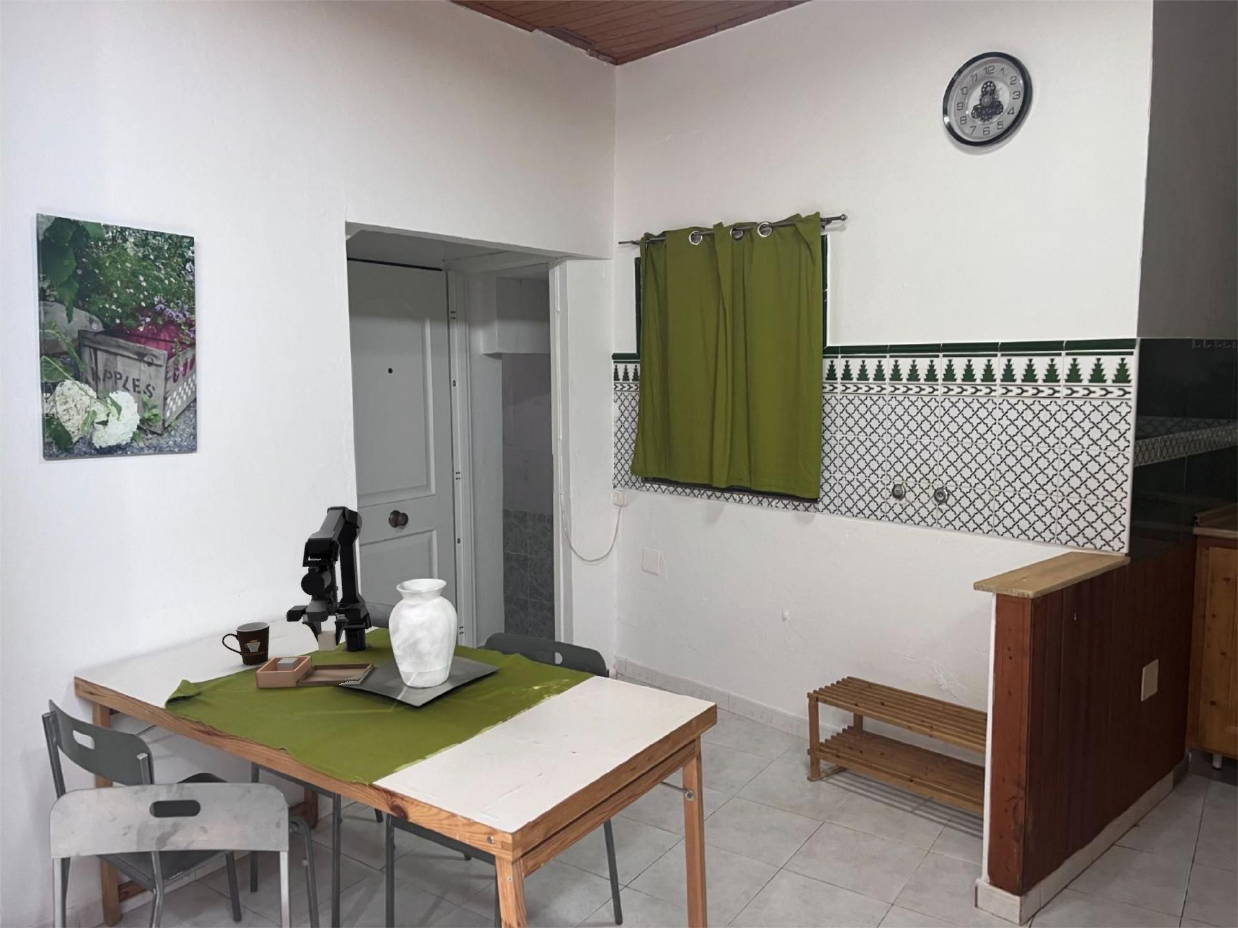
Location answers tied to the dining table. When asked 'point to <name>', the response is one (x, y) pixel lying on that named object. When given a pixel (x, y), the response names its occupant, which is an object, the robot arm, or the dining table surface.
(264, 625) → the coffee mug
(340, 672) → the parts tray
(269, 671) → the pink storage bin
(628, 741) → the dining table surface
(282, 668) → the pale grey matte cube
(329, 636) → the beige cube
